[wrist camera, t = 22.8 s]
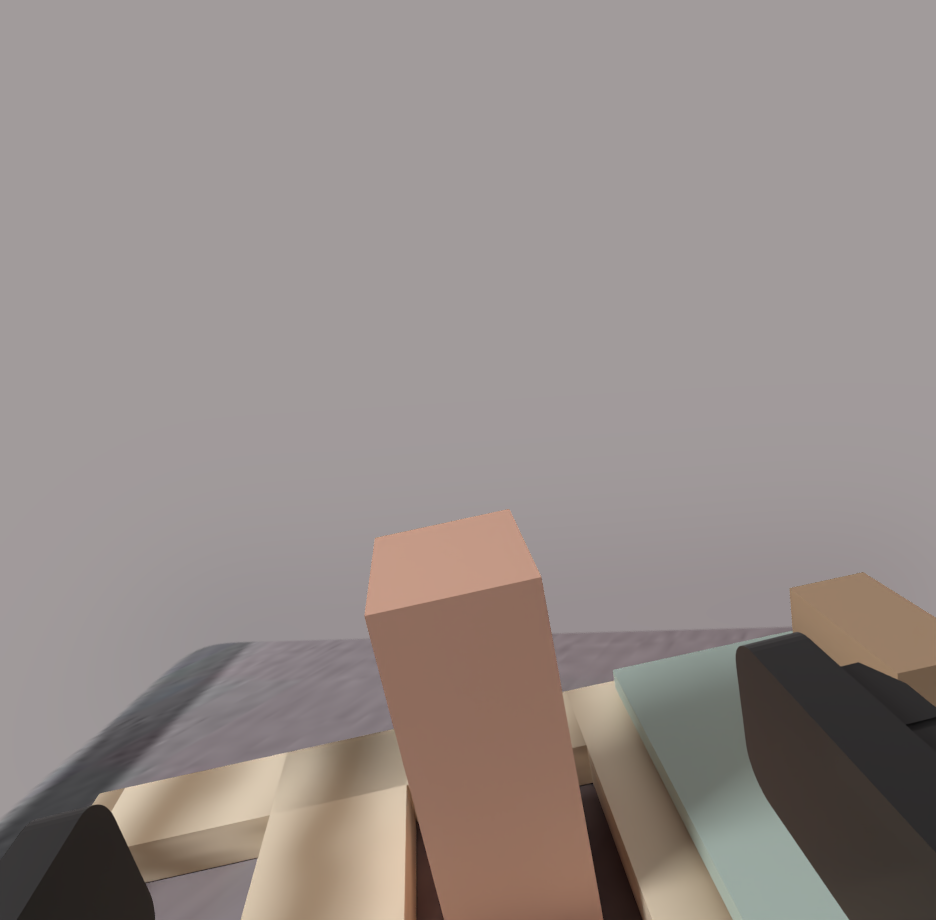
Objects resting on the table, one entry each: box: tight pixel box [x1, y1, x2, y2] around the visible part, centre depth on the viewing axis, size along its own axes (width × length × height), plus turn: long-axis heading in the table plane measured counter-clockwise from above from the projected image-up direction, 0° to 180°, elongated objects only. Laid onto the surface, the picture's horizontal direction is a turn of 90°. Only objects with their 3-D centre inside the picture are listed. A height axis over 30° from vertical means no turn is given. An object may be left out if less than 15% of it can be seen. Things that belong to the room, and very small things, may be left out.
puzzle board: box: [93, 681, 733, 920], centre depth 24 cm, size 32×17×2 cm, turn 95°
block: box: [365, 509, 603, 920], centre depth 23 cm, size 5×6×14 cm
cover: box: [613, 572, 936, 920], centre depth 24 cm, size 10×15×6 cm, turn 5°
